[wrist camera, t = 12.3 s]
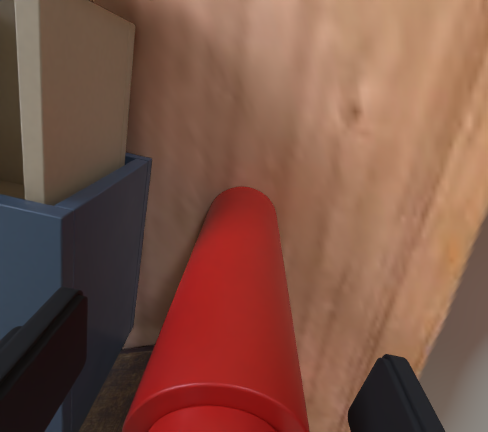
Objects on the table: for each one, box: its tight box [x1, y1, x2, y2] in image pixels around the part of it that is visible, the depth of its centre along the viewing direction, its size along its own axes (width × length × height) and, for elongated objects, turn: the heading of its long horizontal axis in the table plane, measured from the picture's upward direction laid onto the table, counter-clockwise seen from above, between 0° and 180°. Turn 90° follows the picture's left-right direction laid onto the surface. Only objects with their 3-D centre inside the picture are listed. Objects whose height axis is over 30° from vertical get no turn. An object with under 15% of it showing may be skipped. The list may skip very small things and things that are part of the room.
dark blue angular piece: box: [0, 153, 152, 432], centre depth 18 cm, size 15×12×10 cm
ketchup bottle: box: [122, 187, 310, 432], centre depth 13 cm, size 5×5×18 cm
